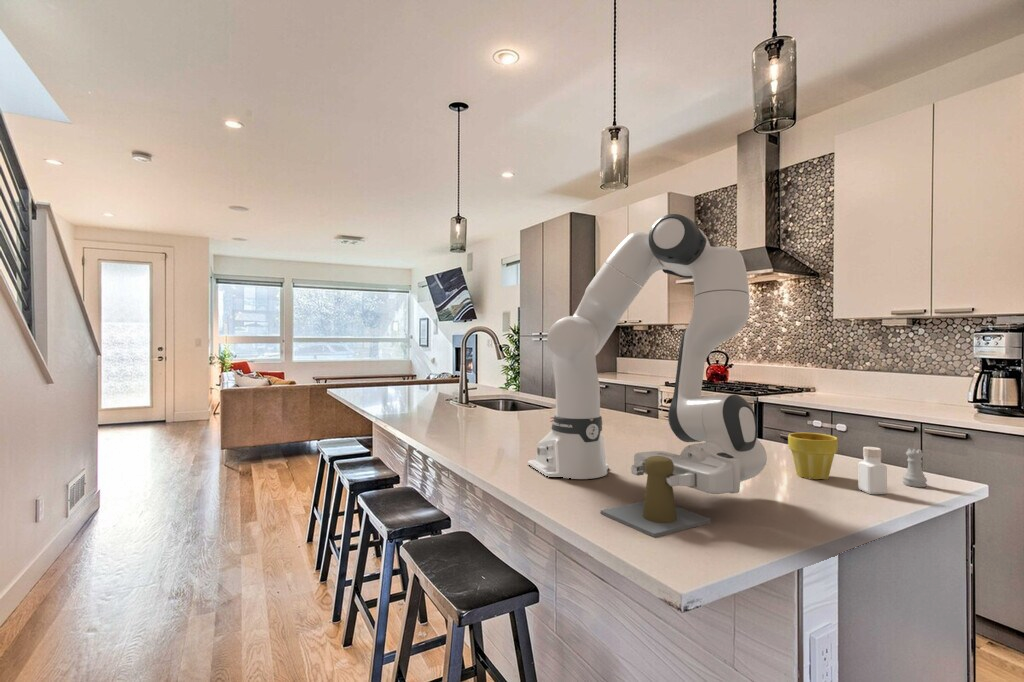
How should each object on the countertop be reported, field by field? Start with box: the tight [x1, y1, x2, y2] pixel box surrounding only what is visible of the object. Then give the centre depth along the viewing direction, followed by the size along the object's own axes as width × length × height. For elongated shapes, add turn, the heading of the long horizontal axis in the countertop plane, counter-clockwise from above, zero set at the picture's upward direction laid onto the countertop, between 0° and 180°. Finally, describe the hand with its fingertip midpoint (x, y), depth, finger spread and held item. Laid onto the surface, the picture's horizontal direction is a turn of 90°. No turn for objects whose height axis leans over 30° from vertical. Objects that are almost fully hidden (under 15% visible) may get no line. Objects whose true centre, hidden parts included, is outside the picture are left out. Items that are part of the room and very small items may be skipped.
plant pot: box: [787, 431, 839, 480], centre depth 124 cm, size 10×10×10 cm
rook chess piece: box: [902, 448, 928, 489], centre depth 116 cm, size 4×4×8 cm
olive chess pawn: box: [643, 456, 677, 523], centre depth 94 cm, size 6×6×11 cm
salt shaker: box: [857, 446, 888, 495], centre depth 111 cm, size 4×4×10 cm
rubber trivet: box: [600, 500, 712, 538], centre depth 96 cm, size 14×14×1 cm
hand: (650, 475), depth 95 cm, fingers open, 7 cm apart
